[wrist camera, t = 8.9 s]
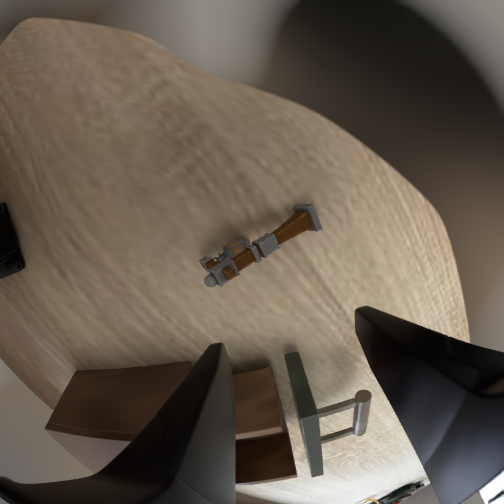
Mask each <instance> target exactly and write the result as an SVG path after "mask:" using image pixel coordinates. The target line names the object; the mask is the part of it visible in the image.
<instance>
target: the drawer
mask: <svg viewBox="0 0 504 504" xmlns="http://www.w3.org/2000/svg"><path fill="white" fill-rule="evenodd" d="M285 361H286V365H287V370H288V375H289V379H290V384H291V389H292V393H293V398H294V402H295V407H296V412H297V417H298V421H299V426H300V430H301V435H302V439H303V443H304V447H305V451H306V456H307V460H308V464H309V468H310V472H311V477H316V476H320V475H323V460H322V448H321V444H322V443H326V442H329V441H333V440H336V439H339V438H342V437H346V436H349V435H352V434H354V435H356V436H361V435H363V434H365V432H366V429H367V423H368V417H369V411H370V404H371V396H372V395H371V393H370V392H369V391H368V390H360V391H358V392H357V393H356V394H355V399H354V398H352V399H349V400H346V401H343V402H340V403H337V404H333V405H330V406H327V407H323V408H320V409H317V408H316V405H315V402H314V399H313V396H312V393H311V389H310V386H309V383H308V380H307V377H306V374H305V371H304V368H303V364H302V361H301V358H300V355H299V352H295V353H291V354H287V355H285ZM232 377H233V385H234V393H235V403H236V443H235V486H242V485H252V484H260V483H267V482H273V481H279V480H285V479H290V478H295V477H297V471H296V466H295V461H294V456H293V451H292V446H291V441H290V436H289V431H288V428H287V424H286V421H285V417H284V413H283V410H282V406H281V403H280V399H279V395H278V392H277V388H276V385H275V381H274V377H273V374H272V370H271V367H268V368H263V369H259V370H254V371H249V372H244V373H238V374H233V375H232ZM353 407H354V415H353V427H351V428H348V429H344V430H341V431H338V432H335V433H332V434H328V435H325V436H320V426H319V418H321V417H324V416H328V415H331V414H334V413H338V412H341V411H344V410H347V409H350V408H353Z"/></svg>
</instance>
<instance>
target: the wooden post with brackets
mask: <svg viewBox="0 0 504 504" xmlns="http://www.w3.org/2000/svg"><path fill="white" fill-rule="evenodd" d="M293 208H294V210H295V213H294V214H293V215H292V217H290V218H289V219H288V220H287V221H286V222H284V223H283V224H282V225H281V226H280V227H278V228H277V229H276V230H274V231H273V232H271V233H266V234H265V235H263V236H262V237H260V238H259V239H257V240H255V241H252V245H250V242H249V240H248V239H246V238H244V239H242V240H241V239H237V238H236V240H235V241H234V242H232V243H231V244H229V245H228V246H225V245H222V246H223V252H222V254H221V253H219V257H218V258H217V257H215V258H211V257H209V258H208V257H205V258H203V259H201V260H200V263H201V265H202V266H203V268H204V269H205V270H206V271H207V272H209V273H210V275H207V276H206V277H205V279H204V282H205V284H206V285H207V286H208V287H213V286H215V285H216V284H217V285H219V286H221V287H222V286H223V285H224V284H225V283H226V282H228V281H229V280H231V279H232V278H234V277H235V276H238V275H240V274H239V271H240V270H242V269H244V268H245V267H247V266H248V265H250V264H252V263H253V262H257V263H258V262H259V261H262V259H261V257H264V258H266V257H267V256H268V255H269V254H270V253H272V252H273V251H275V250H276V249H279V248H280V247H279V245H281V244H282V243H284V242H285V241H287V240H289V239H291V238H293V237H295V236H296V235H298V234H300V233H302V232H304V231H307V230H309V231H319V230H321V229H322V226H321V224H320V221H319V218H318V216H317V213H316V210H315V208H314V205H313V204H297V205H296V206H295V207H293ZM219 258H220V259H219ZM225 258H226V259H225ZM227 258H229V259H227ZM214 259H216V260H217V261H214ZM219 260H221V261H219Z"/></svg>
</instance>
